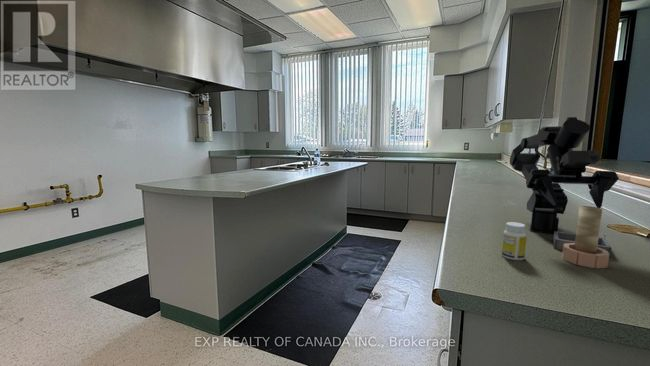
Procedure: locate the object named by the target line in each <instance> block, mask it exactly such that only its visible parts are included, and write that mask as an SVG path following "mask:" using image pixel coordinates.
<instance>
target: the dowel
mask: <svg viewBox="0 0 650 366" xmlns="http://www.w3.org/2000/svg"><path fill="white" fill-rule="evenodd" d="M578 207H579V208H578V213H577V214H578V215H577V223H576V224H577V225H576V231H575V232H576V233H575V234H576V239H575V247H574V250H577V251H580V252H585V253H591V254H596V253H597V246H598V238H599V237H600V229H601V222H602V221H601V220H602V216H603V215H602V214H603V208H602V207H601V208H597V206H589V205H588V206H587V205H580V206H578Z"/></svg>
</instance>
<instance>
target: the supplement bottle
mask: <svg viewBox="0 0 650 366" xmlns="http://www.w3.org/2000/svg"><path fill="white" fill-rule="evenodd" d="M525 231H526V224H524V223H521V222H515V221H507V222H506V224H505V230H503V233H502V234H503V235H502V237H503V238H502V250H501V255H502V256H503V257H504V258H506V259H509V260H513V261H523V260H525V257H526V244H527V243H526V242H527V233H526V232H525Z"/></svg>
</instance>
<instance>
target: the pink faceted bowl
mask: <svg viewBox="0 0 650 366" xmlns="http://www.w3.org/2000/svg"><path fill="white" fill-rule="evenodd" d="M574 247H575V243H566V244H564V245H563V250H562V254H561V256H562V260H564V261H566V262H569V263H570V264H573V265H576V266H581V267H584V268H585V267H586V268H592V269H604V268H606V269H607V268H609V261H610V260H609V259H610V257H609V253H608V251H606V250H604V249H601V248H598V247H597V253H596V254H591V253H585V252H580V251H577V250H574Z"/></svg>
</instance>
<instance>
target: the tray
mask: <svg viewBox="0 0 650 366" xmlns="http://www.w3.org/2000/svg"><path fill="white" fill-rule="evenodd" d="M575 239H576V233H570V232H563V231H559V230H558V231H554V234H553V237H552V243H553V248H554V249H557V250H562V251H563V245H564V244H566V243H575ZM597 247H598V248H601V249H604V250H606V251H608V253H609V258H611V256H612V249H613V248H612V246H611V245H610V243H609V242H608V240H607V238H606V237H600V236H599V238H598V246H597Z"/></svg>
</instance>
